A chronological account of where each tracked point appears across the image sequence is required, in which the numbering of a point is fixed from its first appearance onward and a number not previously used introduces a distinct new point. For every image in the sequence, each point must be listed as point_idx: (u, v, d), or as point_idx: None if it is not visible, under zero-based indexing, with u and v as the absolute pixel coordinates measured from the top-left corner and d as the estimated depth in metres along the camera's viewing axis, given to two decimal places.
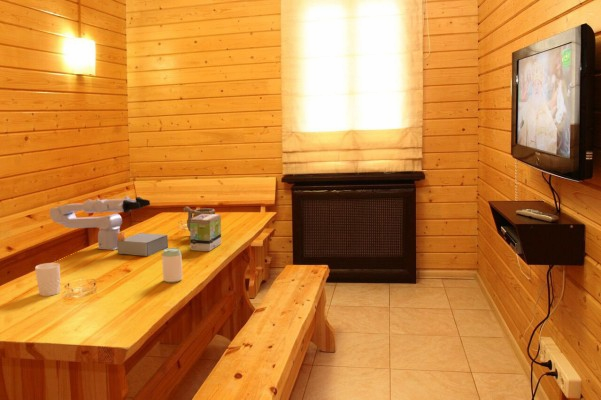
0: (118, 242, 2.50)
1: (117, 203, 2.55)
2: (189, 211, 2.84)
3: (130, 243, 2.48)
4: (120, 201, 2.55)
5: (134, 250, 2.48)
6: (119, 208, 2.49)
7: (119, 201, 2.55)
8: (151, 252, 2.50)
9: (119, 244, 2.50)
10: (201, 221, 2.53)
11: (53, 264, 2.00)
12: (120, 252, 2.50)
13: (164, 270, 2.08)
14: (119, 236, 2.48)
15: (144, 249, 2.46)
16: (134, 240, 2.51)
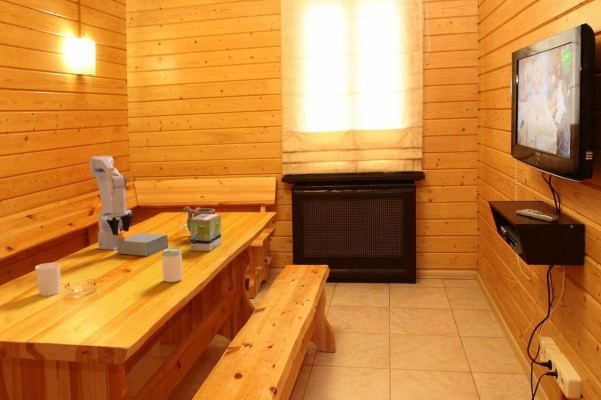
0: (118, 242, 2.50)
1: (117, 206, 2.44)
2: (189, 211, 2.84)
3: (130, 243, 2.48)
4: (120, 209, 2.45)
5: (134, 250, 2.48)
6: (108, 217, 2.41)
7: (120, 207, 2.45)
8: (151, 252, 2.50)
9: (119, 244, 2.50)
10: (201, 221, 2.53)
11: (53, 264, 2.00)
12: (120, 252, 2.50)
13: (164, 270, 2.08)
14: (119, 236, 2.48)
15: (144, 249, 2.46)
16: (134, 240, 2.51)
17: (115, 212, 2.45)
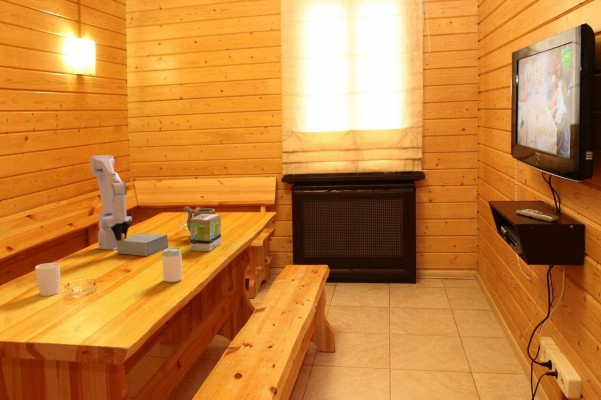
0: (118, 242, 2.50)
1: (118, 212, 2.45)
2: (189, 211, 2.84)
3: (130, 243, 2.48)
4: (120, 215, 2.45)
5: (134, 250, 2.48)
6: (108, 224, 2.42)
7: (120, 214, 2.45)
8: (151, 252, 2.50)
9: (119, 244, 2.50)
10: (201, 221, 2.53)
11: (53, 264, 2.00)
12: (120, 252, 2.50)
13: (164, 270, 2.08)
14: None
15: (144, 249, 2.46)
16: (134, 240, 2.51)
17: (115, 219, 2.45)
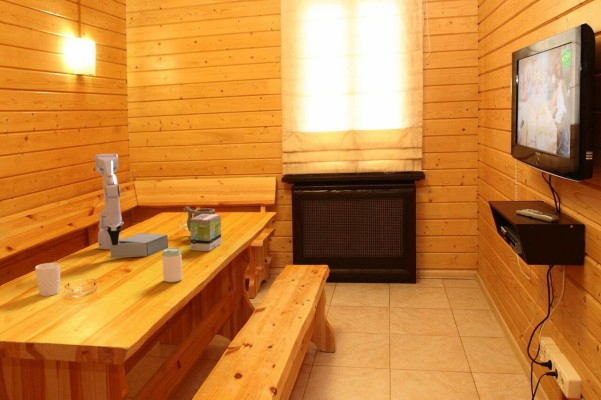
0: (112, 246, 2.42)
1: (116, 215, 2.38)
2: (189, 211, 2.84)
3: (127, 245, 2.43)
4: (118, 218, 2.39)
5: (132, 252, 2.44)
6: (112, 228, 2.34)
7: (118, 217, 2.39)
8: (151, 252, 2.50)
9: (113, 248, 2.42)
10: (201, 221, 2.53)
11: (53, 264, 2.00)
12: (114, 256, 2.43)
13: (164, 270, 2.08)
14: None
15: (144, 249, 2.45)
16: (134, 240, 2.51)
17: (113, 222, 2.38)
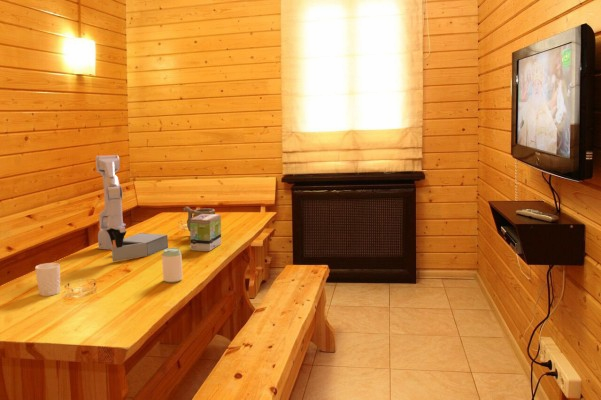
0: (114, 249, 2.37)
1: (120, 217, 2.34)
2: (189, 211, 2.84)
3: (129, 247, 2.41)
4: (122, 220, 2.35)
5: (133, 253, 2.42)
6: (121, 230, 2.30)
7: (122, 219, 2.35)
8: (151, 252, 2.50)
9: (115, 251, 2.37)
10: (201, 221, 2.53)
11: (53, 264, 2.00)
12: (116, 259, 2.38)
13: (164, 270, 2.08)
14: None
15: (145, 249, 2.45)
16: (134, 240, 2.51)
17: (118, 224, 2.34)
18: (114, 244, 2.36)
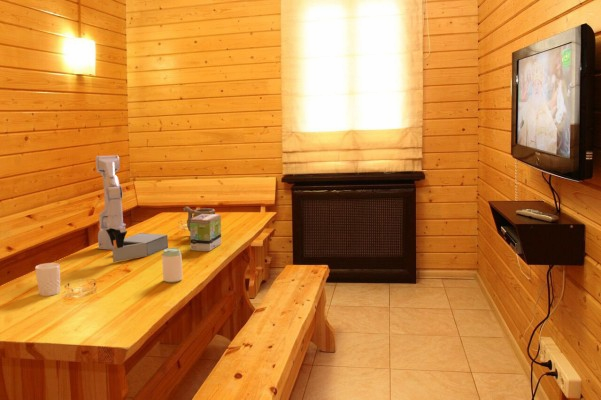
0: (115, 250, 2.36)
1: (120, 217, 2.34)
2: (189, 211, 2.84)
3: (129, 247, 2.40)
4: (122, 220, 2.35)
5: (134, 253, 2.42)
6: (122, 230, 2.30)
7: (122, 219, 2.35)
8: (151, 252, 2.50)
9: (116, 251, 2.37)
10: (201, 221, 2.53)
11: (53, 264, 2.00)
12: (117, 260, 2.37)
13: (164, 270, 2.08)
14: None
15: (145, 249, 2.45)
16: (134, 240, 2.51)
17: (118, 224, 2.33)
18: (115, 244, 2.35)
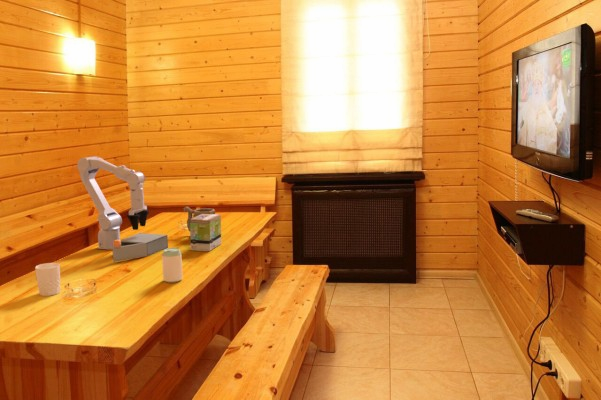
0: (115, 250, 2.36)
1: (137, 201, 2.52)
2: (189, 211, 2.84)
3: (129, 247, 2.40)
4: (139, 204, 2.53)
5: (134, 253, 2.42)
6: (129, 213, 2.48)
7: (139, 203, 2.53)
8: (151, 252, 2.50)
9: (116, 251, 2.37)
10: (201, 221, 2.53)
11: (53, 264, 2.00)
12: (117, 260, 2.37)
13: (164, 270, 2.08)
14: (119, 242, 2.36)
15: (145, 249, 2.45)
16: (134, 240, 2.51)
17: (135, 207, 2.52)
18: (115, 244, 2.35)
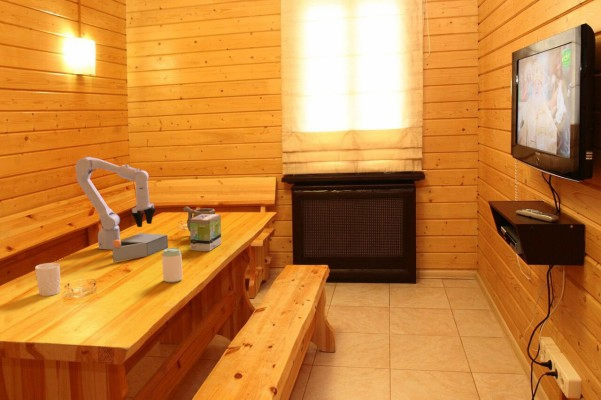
0: (115, 250, 2.36)
1: (141, 199, 2.57)
2: (189, 211, 2.84)
3: (129, 247, 2.40)
4: (144, 202, 2.58)
5: (134, 253, 2.42)
6: (133, 210, 2.54)
7: (144, 201, 2.58)
8: (151, 252, 2.50)
9: (116, 251, 2.37)
10: (201, 221, 2.53)
11: (53, 264, 2.00)
12: (117, 260, 2.37)
13: (164, 270, 2.08)
14: (119, 242, 2.36)
15: (145, 249, 2.45)
16: (134, 240, 2.51)
17: (139, 205, 2.58)
18: (115, 244, 2.35)
